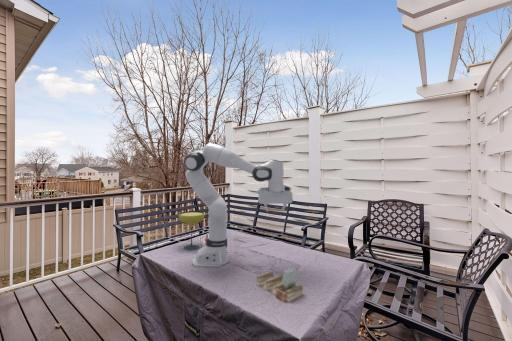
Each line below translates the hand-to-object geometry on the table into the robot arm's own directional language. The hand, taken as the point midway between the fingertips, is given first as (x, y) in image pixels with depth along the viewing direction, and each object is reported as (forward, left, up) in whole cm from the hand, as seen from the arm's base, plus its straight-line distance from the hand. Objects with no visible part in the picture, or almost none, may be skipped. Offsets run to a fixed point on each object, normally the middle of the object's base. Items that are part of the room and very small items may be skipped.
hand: (275, 211), depth 146 cm
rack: (-5, -24, -34) cm, 42 cm away
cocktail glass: (-49, +47, -34) cm, 76 cm away
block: (-2, -30, -33) cm, 44 cm away
